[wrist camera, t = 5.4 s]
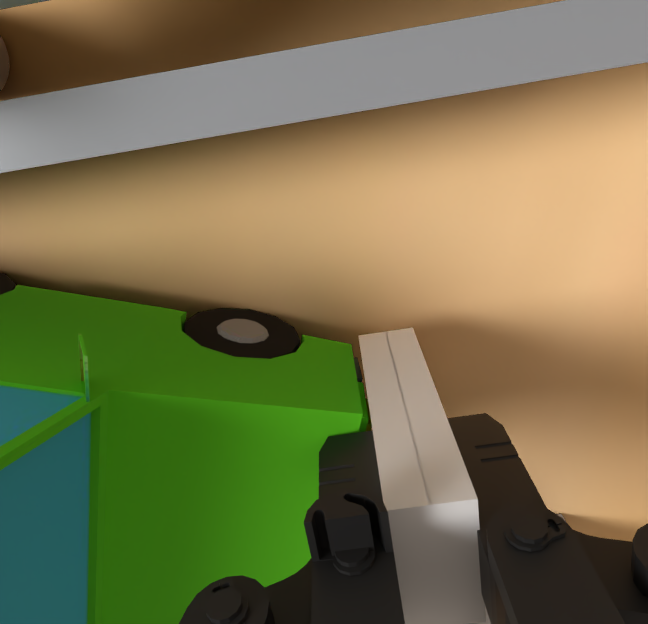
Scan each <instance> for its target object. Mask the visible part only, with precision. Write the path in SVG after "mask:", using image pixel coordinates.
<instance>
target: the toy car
mask: <svg viewBox="0 0 648 624" xmlns="http://www.w3.org/2000/svg"><path fill="white" fill-rule="evenodd" d="M186 314H187V312H184V311H179V310H174V309H169V308H163V307H157V306H150V305H144V304H138V303H131V302H125V301H118V300H112V299H106V298H99V297H93V296H86V295H80V294H73V293H67V292H61V291H54V290H48V289H41V288H35V287H29V286H22V285H17V286H16V287H15V283H14V282H13V281H12V280H11V279H10V278H9V277H8V276H7V275H6V274H4V273H0V624H179V622H180V620H181V619H182V617H183V615H184V613H185V611H186V609H187V607H188V606H189V604H190V603H191V601H192V600H193V599H194V597H195V596H196V595H197V593H199V592H200V591H201V590H203V589H204V588H205V587H206V586H208V585H209V584H210V583H212V582H215V581H217V580H220V579H222V578H225V577H229V576H240V575H243V576H246V577H250V578H253V579H256V580H257V581H258V582H259V583H260V584H261V585H262V586H264V587H267V586H269V585H272V584H274V583H276V582H279V581H281V580H284V579H286V578H288V577H289V576H291V575H293V574H295V573H297V572H298V571H299V570H300V569H301V568H303V567H304V566H305V565H306V564H307V563H308V561H309V560H310V559H311V554H310V549H309V545H308V540H307V536H306V532H305V527H304V519H305V516H306V513H307V510H308V509H309V508H310V507H311V506H312V504H313V503H314V502H315V501H316V500H317V499H319V451H320V449H321V448H322V446H323V444H324V443H325V441H326V439H327V438H328V436H335V435H343V434H350V433H357V432H365V431H371V428H372V423H371V417H370V410H369V403H368V399H366V398H365V391H364V385H363V383H362V379H363V378H362V374H361V370H360V366H359V362H358V358H356V357H353V351H352V345H351V344H348V343H343V342H338V341H333V340H328V339H323V338H318V337H312V336H307V335H302V338H301V344H300V339H299V337H298V335H297V333H296V331H295V329H294V327H292V326H291V325H289V324H287V323H286V322H284V321H282V320H281V319H279V318H277V317H276V316H272V315H268V314H265V313H261V312H257V311H253V310H250V309H231V308H219V309H214V310H209V311H203V312H198V313H197V314H195V315H194V316H193V317H191V318H190V319H188V320H187V321H186ZM299 345H300V347H299Z"/></svg>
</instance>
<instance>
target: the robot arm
mask: <svg viewBox="0 0 648 624" xmlns="http://www.w3.org/2000/svg"><path fill="white" fill-rule="evenodd" d="M358 336H359V343H360V350H361V356H362V363H363V370H364V377H365V383H366V390H367V397H368V403H369V410H370V417H371V423H372V431H365V432H357V433H350V434H343V435H335V436H328V438H327V439H326V441H325V443H324V444H323V446H322V448H321V449H320V451H319V499H317V500H316V501H315V502H314V503H313V504H312V506H311V507H310V508H309V509H308V510H307V513H306V516H305V519H304V527H305V532H306V536H307V540H308V545H309V549H310V554H311V559H310V560H309V561H308V563H307V564H306V565H305V566H304V567H303V568H301V569H300V570H299V571H298V572H297V573H295V574H293V575H291V576H289V577H288V578H286V579H284V580H281V581H279V582H276V583H274V584H272V585H269V586H267V587H264V586H262V585H261V584H260V583H259V582H258V581H257V580H256V579H253V578H250V577H246V576H243V575H240V576H229V577H225V578H222V579H220V580H217V581H215V582H212V583H210V584H209V585H208V586H206V587H205V588H204V589H203V590H201V591H200V592H199V593H197V595H196V596H195V597H194V599H193V600H192V601H191V603H190V604H189V606H188V607H187V609H186V611H185V613H184V615H183V617H182V619H181V620H180V622H179V624H469V623H478V622H486V614H485V606H486V609H487V613H488V616H489V619H490V622H491V624H648V524H646V525H644V526H643V527H641V528H640V529H638V530H637V532H636V535H635V537H634V539H633V542H628V541H621V540H613V539H605V538H598V537H594V536H589V535H585V534H582V533H580V532H577V531H575V530H572V529H571V527H570V526H569V525H568V524H567V523H566V522H565V520H564V519H563V518H562V517H560V516H558V515H557V514H555V513H553V512H552V511H550V510H548V509H547V507H546V506H545V504H544V502H543V500H542V498H541V496H540V494H539V493H538V491H537V489H536V487H535V485H534V483H533V481H532V479H531V478H530V476H529V474H528V472H527V470H526V468H525V466H524V464H523V463H522V461H521V459H520V458H519V457H518V453H517V451H516V449H515V448H514V446H513V444H511V440H510V438H509V436H508V435H507V433H506V431H505V429H504V427H503V425H501V424H500V423H499V422H497V421H496V420H494V419H493V418H492V417H490V416H489V415H488V414H486V413H483V414H476V415H469V416H462V417H454V418H447V417H446V414H445V411H444V409H443V406H442V403H441V401H440V398H439V395H438V393H437V390H436V388H435V385H434V382H433V380H432V377H431V374H430V372H429V369H428V366H427V364H426V361H425V359H424V356H423V353H422V351H421V348H420V345H419V343H418V340H417V337H416V335H415V332H414V330H413V328H406V329H399V330H392V331H386V332H379V333H372V334H365V335H358Z"/></svg>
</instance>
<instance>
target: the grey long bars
mask: <svg viewBox="0 0 648 624" xmlns="http://www.w3.org/2000/svg"><path fill="white" fill-rule="evenodd" d="M646 62H648V0H565V1H559V2H553V3H548V4H542V5H537V6H531V7H525V8H520V9H514V10H509V11H503V12H497V13H492V14H486V15H480V16H475V17H469V18H464V19H458V20H452V21H447V22H441V23H436V24H430V25H424V26H419V27H413V28H408V29H402V30H396V31H391V32H385V33H380V34H374V35H368V36H363V37H357V38H351V39H346V40H340V41H335V42H329V43H323V44H318V45H312V46H307V47H301V48H295V49H290V50H284V51H279V52H273V53H267V54H262V55H256V56H251V57H245V58H239V59H234V60H228V61H222V62H217V63H211V64H206V65H200V66H194V67H189V68H183V69H178V70H172V71H166V72H161V73H155V74H150V75H144V76H138V77H133V78H127V79H122V80H116V81H110V82H105V83H99V84H93V85H88V86H82V87H77V88H71V89H65V90H60V91H54V92H49V93H43V94H37V95H32V96H26V97H21V98H15V99H9V100H4V101H0V173H4V172H9V171H15V170H21V169H27V168H33V167H39V166H44V165H50V164H56V163H62V162H68V161H74V160H79V159H85V158H91V157H97V156H103V155H109V154H115V153H120V152H126V151H132V150H138V149H144V148H150V147H155V146H161V145H167V144H173V143H179V142H185V141H191V140H196V139H202V138H208V137H214V136H220V135H226V134H231V133H237V132H243V131H249V130H255V129H261V128H266V127H272V126H278V125H284V124H290V123H296V122H302V121H307V120H313V119H319V118H325V117H331V116H337V115H342V114H348V113H354V112H360V111H366V110H372V109H377V108H383V107H389V106H395V105H401V104H407V103H413V102H418V101H424V100H430V99H436V98H442V97H448V96H453V95H459V94H465V93H471V92H477V91H483V90H488V89H494V88H500V87H506V86H512V85H518V84H524V83H529V82H535V81H541V80H547V79H553V78H559V77H564V76H570V75H576V74H582V73H588V72H594V71H600V70H605V69H611V68H617V67H623V66H629V65H635V64H640V63H646ZM557 515H558V516H560V517H562V518H563V519H564V517H563V516H562V514H557ZM564 520H565V519H564ZM565 522H566V521H565ZM485 614H486V622H478V623H469V624H491V622H490V619H489V616H488V613H487V609H486V606H485Z"/></svg>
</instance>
